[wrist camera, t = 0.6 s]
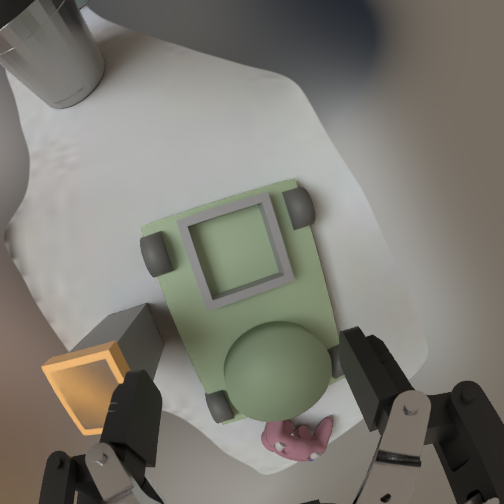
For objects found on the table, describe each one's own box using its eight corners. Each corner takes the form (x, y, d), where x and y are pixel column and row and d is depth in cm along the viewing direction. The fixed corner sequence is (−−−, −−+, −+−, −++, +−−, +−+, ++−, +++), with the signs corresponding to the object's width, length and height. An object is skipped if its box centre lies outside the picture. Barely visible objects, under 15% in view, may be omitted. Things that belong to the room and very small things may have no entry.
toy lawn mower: (142, 228, 27) (130, 227, 22) (290, 181, 29) (307, 172, 25) (220, 415, 30) (223, 440, 25) (341, 369, 32) (359, 386, 27)
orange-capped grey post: (102, 312, 27) (41, 366, 13) (149, 297, 28) (108, 349, 14) (123, 360, 28) (83, 435, 14) (170, 347, 29) (151, 425, 15)
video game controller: (258, 409, 33) (254, 454, 26) (280, 395, 31) (278, 444, 24) (312, 428, 34) (314, 468, 28) (335, 416, 33) (339, 458, 26)
